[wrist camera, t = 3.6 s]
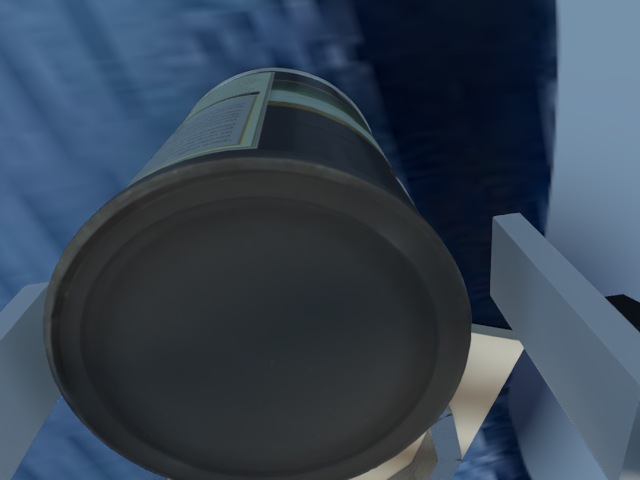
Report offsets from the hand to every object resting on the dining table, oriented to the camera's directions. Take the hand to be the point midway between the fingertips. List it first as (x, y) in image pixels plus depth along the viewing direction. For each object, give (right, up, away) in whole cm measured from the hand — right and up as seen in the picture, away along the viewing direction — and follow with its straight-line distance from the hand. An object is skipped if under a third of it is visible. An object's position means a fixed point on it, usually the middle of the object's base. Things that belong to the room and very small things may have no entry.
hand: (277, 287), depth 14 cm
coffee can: (-1, +5, +10) cm, 11 cm away
